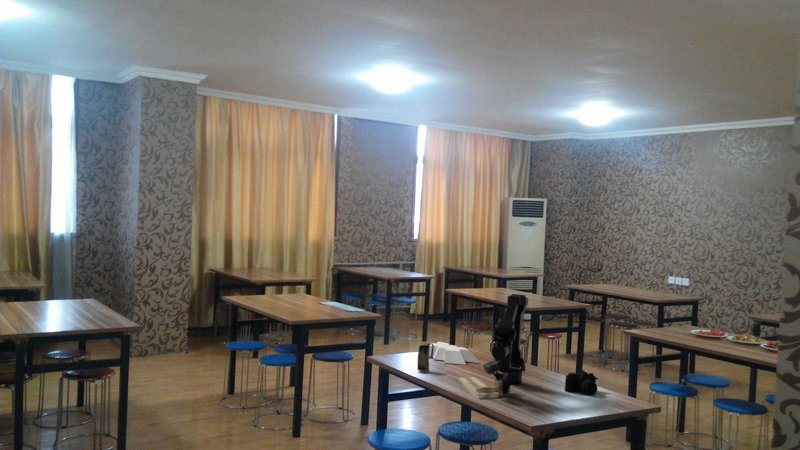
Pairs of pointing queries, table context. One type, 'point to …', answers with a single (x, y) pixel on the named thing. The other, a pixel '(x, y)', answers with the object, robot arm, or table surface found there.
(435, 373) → the table surface
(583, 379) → the film camera
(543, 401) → the table surface
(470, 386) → the board
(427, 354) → the mug
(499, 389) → the wooden mallet
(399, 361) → the table surface
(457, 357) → the white faceted block
